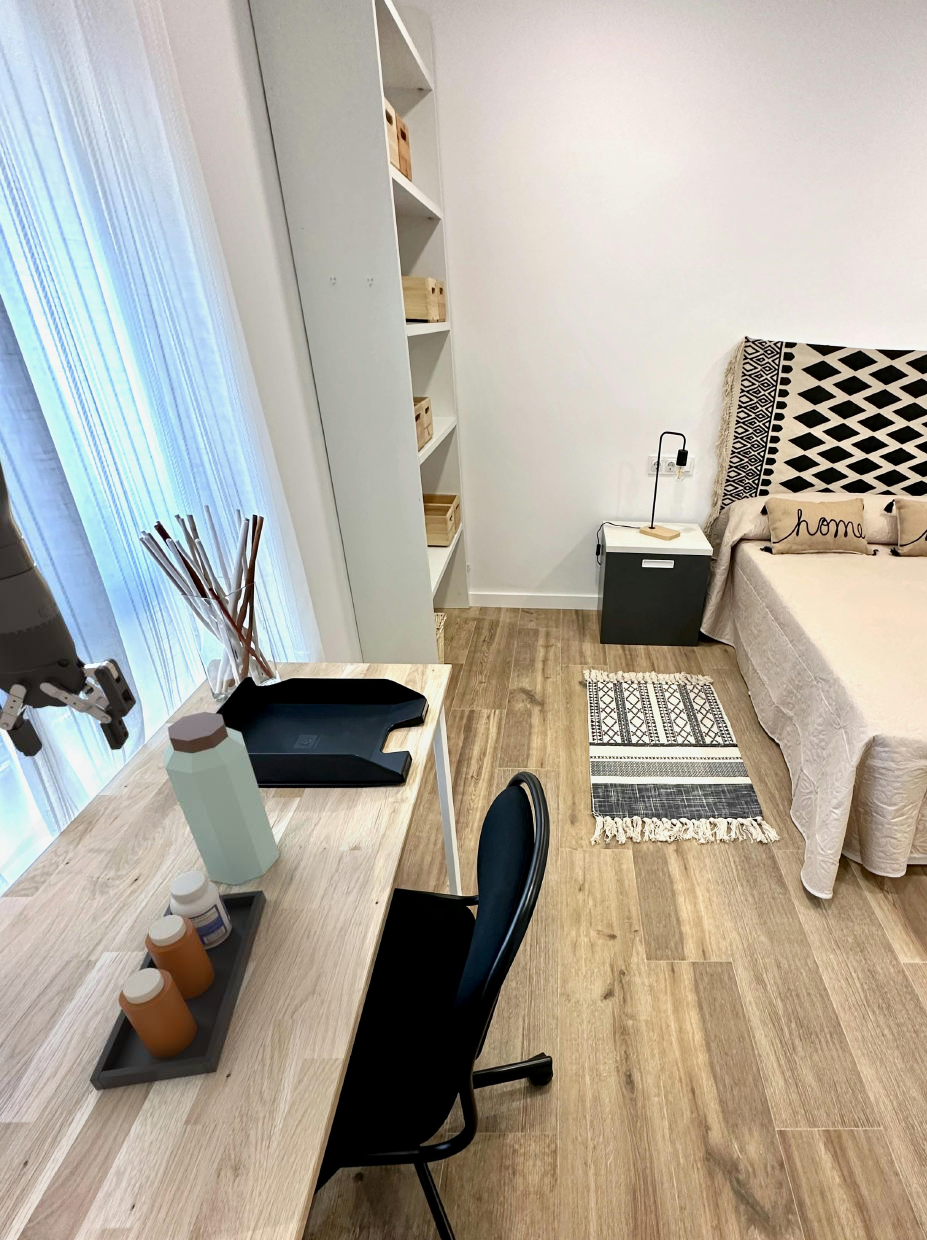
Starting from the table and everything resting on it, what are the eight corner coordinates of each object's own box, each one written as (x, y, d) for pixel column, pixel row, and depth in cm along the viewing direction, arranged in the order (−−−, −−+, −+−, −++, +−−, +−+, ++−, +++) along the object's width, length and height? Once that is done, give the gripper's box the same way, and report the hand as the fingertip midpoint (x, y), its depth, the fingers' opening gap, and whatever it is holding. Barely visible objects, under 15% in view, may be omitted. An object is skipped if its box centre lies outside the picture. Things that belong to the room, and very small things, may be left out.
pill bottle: (196, 918, 84) (173, 867, 79) (238, 916, 85) (218, 864, 79) (179, 953, 80) (153, 901, 74) (224, 950, 80) (201, 898, 75)
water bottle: (258, 832, 99) (213, 697, 86) (296, 860, 95) (255, 722, 81) (194, 870, 92) (135, 729, 79) (232, 902, 88) (176, 759, 74)
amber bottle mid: (164, 1003, 74) (133, 947, 69) (178, 967, 78) (150, 912, 72) (208, 997, 75) (181, 941, 69) (220, 962, 79) (195, 907, 73)
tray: (100, 1095, 66) (88, 1080, 65) (177, 915, 86) (170, 900, 84) (218, 1077, 68) (210, 1062, 67) (268, 904, 88) (262, 890, 86)
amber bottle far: (141, 1062, 68) (105, 1007, 63) (157, 1020, 72) (125, 965, 67) (189, 1055, 69) (158, 1000, 64) (202, 1014, 73) (174, 959, 67)
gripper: (108, 597, 66) (159, 725, 75) (-48, 603, 63) (24, 735, 72) (73, 627, 60) (134, 764, 68) (-101, 635, 57) (-15, 775, 66)
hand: (77, 749), depth 70 cm, fingers open, 8 cm apart
